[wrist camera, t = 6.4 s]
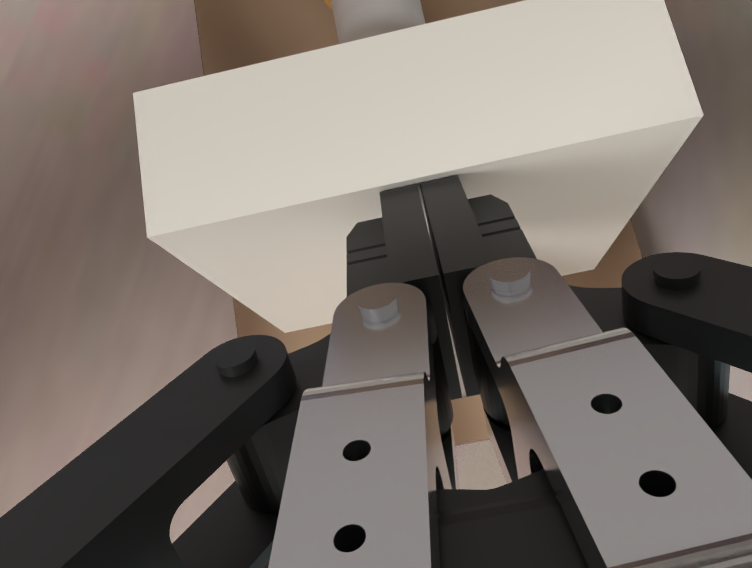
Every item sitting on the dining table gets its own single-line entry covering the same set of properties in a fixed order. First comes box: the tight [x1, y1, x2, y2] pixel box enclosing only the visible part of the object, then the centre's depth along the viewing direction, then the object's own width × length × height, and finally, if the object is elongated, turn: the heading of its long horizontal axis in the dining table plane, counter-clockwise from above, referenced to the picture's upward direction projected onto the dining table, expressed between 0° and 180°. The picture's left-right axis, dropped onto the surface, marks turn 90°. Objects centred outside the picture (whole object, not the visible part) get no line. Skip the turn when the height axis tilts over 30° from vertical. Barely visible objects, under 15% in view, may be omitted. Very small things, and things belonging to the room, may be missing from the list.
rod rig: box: [194, 0, 642, 446], centre depth 20 cm, size 14×22×14 cm, turn 10°
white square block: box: [133, 0, 703, 333], centre depth 17 cm, size 10×3×10 cm, turn 100°
